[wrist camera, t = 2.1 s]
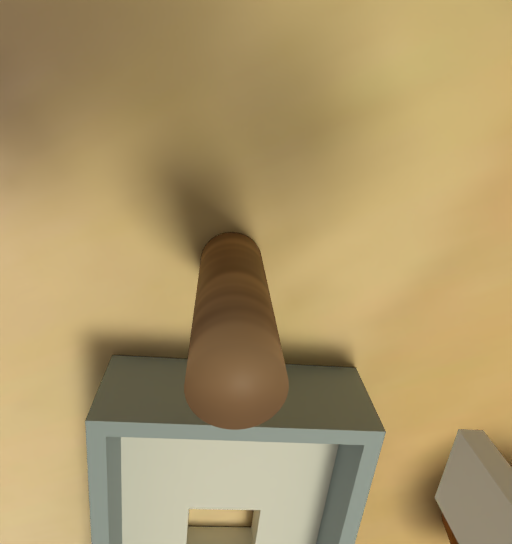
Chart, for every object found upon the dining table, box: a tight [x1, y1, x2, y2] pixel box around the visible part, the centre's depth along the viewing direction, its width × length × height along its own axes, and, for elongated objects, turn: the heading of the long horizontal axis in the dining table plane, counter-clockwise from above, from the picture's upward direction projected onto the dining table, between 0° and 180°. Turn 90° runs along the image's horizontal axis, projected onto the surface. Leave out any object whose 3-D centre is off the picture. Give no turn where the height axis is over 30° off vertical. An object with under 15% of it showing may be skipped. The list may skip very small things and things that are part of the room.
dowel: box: [184, 232, 289, 430], centre depth 21 cm, size 4×4×12 cm
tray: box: [85, 355, 386, 544], centre depth 31 cm, size 26×16×6 cm, turn 174°
